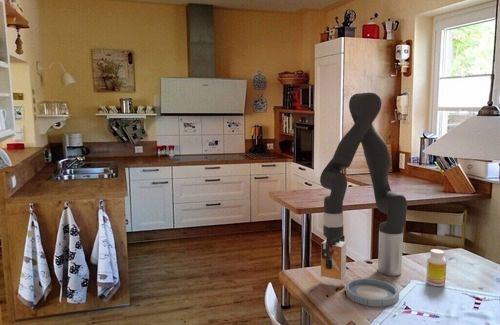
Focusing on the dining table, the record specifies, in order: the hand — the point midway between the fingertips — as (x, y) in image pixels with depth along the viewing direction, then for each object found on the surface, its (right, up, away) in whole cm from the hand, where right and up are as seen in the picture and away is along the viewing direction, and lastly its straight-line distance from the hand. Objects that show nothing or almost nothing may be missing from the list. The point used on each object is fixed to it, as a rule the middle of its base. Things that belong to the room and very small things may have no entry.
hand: (333, 265), depth 155 cm
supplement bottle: (+40, -7, +1) cm, 40 cm away
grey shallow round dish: (+12, -8, -8) cm, 17 cm away
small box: (0, -4, +1) cm, 4 cm away
